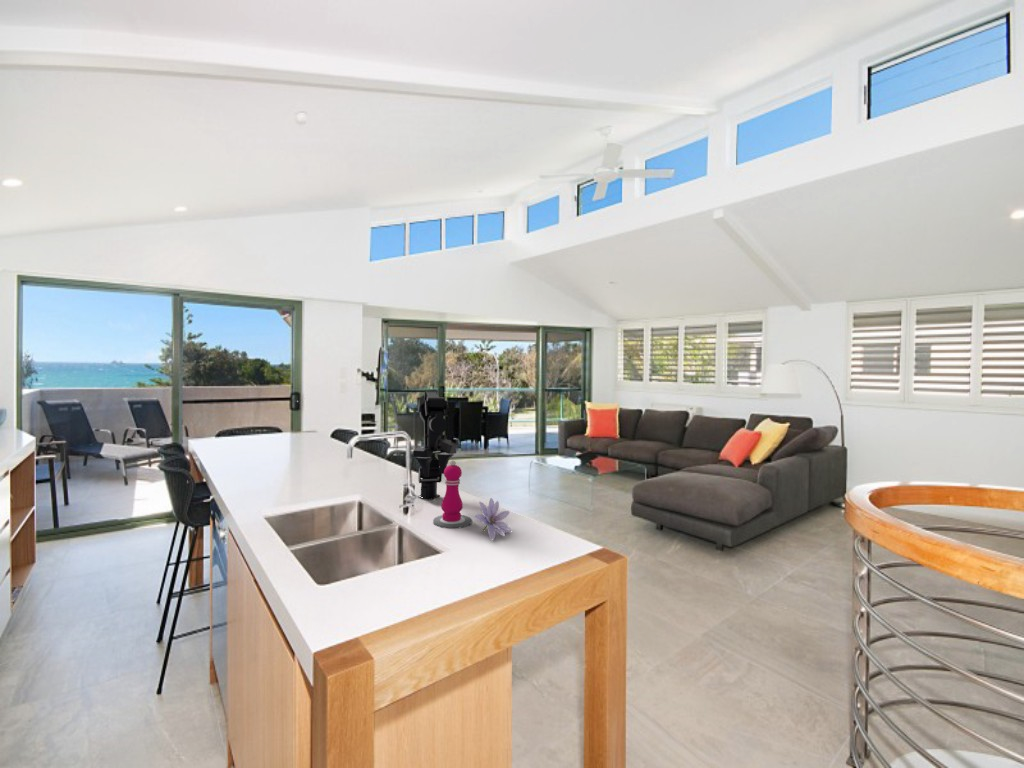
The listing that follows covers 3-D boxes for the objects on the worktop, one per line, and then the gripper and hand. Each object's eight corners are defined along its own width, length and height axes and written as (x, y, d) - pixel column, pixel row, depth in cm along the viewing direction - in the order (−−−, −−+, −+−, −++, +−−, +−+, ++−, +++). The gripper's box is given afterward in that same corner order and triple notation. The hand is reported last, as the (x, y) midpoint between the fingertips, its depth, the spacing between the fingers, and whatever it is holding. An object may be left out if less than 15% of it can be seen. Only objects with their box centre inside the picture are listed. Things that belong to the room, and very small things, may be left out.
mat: (447, 513, 178) (447, 511, 178) (478, 519, 172) (479, 517, 172) (425, 523, 166) (425, 521, 166) (458, 530, 160) (458, 528, 160)
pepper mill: (446, 514, 175) (448, 457, 174) (465, 517, 172) (467, 459, 171) (437, 520, 168) (438, 461, 167) (457, 523, 165) (458, 463, 165)
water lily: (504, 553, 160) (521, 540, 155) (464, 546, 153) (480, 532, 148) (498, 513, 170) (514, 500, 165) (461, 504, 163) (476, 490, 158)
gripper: (437, 433, 169) (437, 480, 168) (468, 431, 185) (468, 473, 184) (412, 432, 174) (411, 477, 173) (444, 430, 190) (443, 471, 190)
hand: (435, 475), depth 180 cm, fingers open, 9 cm apart
